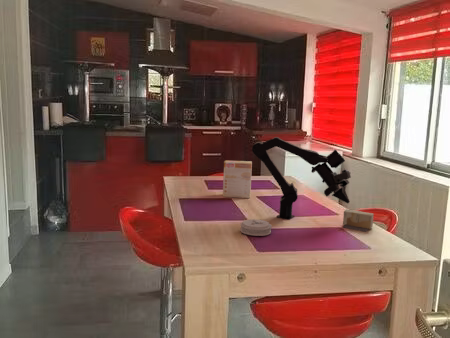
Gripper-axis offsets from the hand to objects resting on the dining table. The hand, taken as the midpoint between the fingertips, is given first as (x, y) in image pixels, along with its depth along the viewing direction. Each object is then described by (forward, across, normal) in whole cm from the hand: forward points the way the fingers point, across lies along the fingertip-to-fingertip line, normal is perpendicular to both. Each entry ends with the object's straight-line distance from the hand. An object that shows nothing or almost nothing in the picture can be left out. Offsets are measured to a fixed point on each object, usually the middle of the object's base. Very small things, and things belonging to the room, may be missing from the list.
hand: (348, 202), depth 200 cm
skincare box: (+4, 0, +6) cm, 7 cm away
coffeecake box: (-39, +16, +55) cm, 69 cm away
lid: (-11, -36, +27) cm, 46 cm away
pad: (+11, 0, +4) cm, 11 cm away
